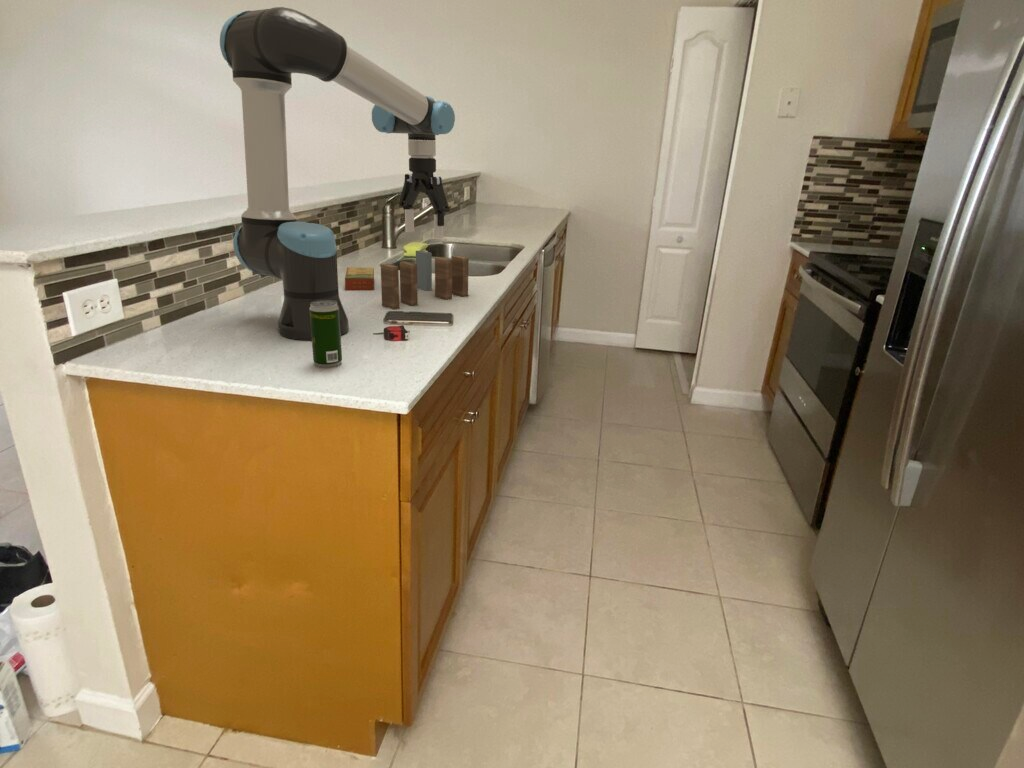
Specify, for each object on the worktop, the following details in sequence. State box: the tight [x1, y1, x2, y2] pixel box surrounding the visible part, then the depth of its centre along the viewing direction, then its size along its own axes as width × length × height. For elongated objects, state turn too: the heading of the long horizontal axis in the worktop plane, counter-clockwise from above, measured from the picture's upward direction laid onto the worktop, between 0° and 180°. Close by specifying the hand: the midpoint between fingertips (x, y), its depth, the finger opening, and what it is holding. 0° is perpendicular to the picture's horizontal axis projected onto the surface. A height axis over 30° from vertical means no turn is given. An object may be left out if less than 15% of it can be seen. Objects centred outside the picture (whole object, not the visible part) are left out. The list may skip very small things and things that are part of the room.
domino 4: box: [434, 256, 453, 301], centre depth 175 cm, size 2×5×11 cm, turn 45°
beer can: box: [309, 300, 343, 369], centre depth 119 cm, size 5×5×12 cm
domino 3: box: [415, 249, 433, 291], centre depth 184 cm, size 2×5×11 cm, turn 45°
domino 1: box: [380, 263, 400, 310], centre depth 163 cm, size 2×5×11 cm, turn 45°
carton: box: [344, 266, 375, 292], centre depth 188 cm, size 8×16×4 cm, turn 11°
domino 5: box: [451, 255, 469, 298], centre depth 179 cm, size 2×5×11 cm, turn 45°
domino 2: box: [399, 260, 419, 307], centre depth 167 cm, size 2×5×11 cm, turn 45°
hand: (423, 234), depth 181 cm, fingers open, 13 cm apart
